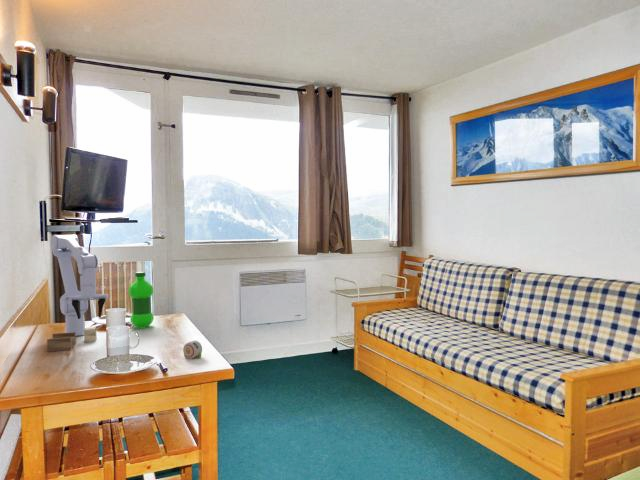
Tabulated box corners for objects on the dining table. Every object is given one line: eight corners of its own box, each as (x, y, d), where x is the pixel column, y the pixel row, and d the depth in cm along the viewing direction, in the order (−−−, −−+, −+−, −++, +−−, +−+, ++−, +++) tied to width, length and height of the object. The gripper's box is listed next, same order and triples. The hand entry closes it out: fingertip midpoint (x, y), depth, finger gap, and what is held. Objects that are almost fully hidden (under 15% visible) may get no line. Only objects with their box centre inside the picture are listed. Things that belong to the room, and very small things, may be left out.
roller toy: (195, 360, 170) (195, 343, 170) (181, 358, 173) (180, 342, 172) (203, 357, 174) (203, 340, 174) (189, 355, 177) (188, 339, 176)
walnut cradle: (53, 345, 195) (53, 333, 195) (75, 343, 197) (75, 332, 197) (47, 351, 185) (46, 339, 185) (70, 349, 188) (70, 337, 188)
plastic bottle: (130, 325, 228) (128, 271, 227) (154, 323, 232) (152, 270, 230) (129, 330, 219) (127, 274, 218) (154, 328, 222) (152, 272, 221)
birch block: (86, 339, 203) (85, 327, 203) (96, 338, 204) (96, 327, 204) (84, 342, 199) (83, 329, 199) (95, 341, 200) (94, 329, 200)
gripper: (66, 287, 195) (68, 321, 195) (106, 284, 199) (107, 318, 199) (70, 284, 201) (71, 317, 202) (108, 282, 206) (109, 314, 206)
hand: (89, 317), depth 201 cm, fingers open, 7 cm apart
